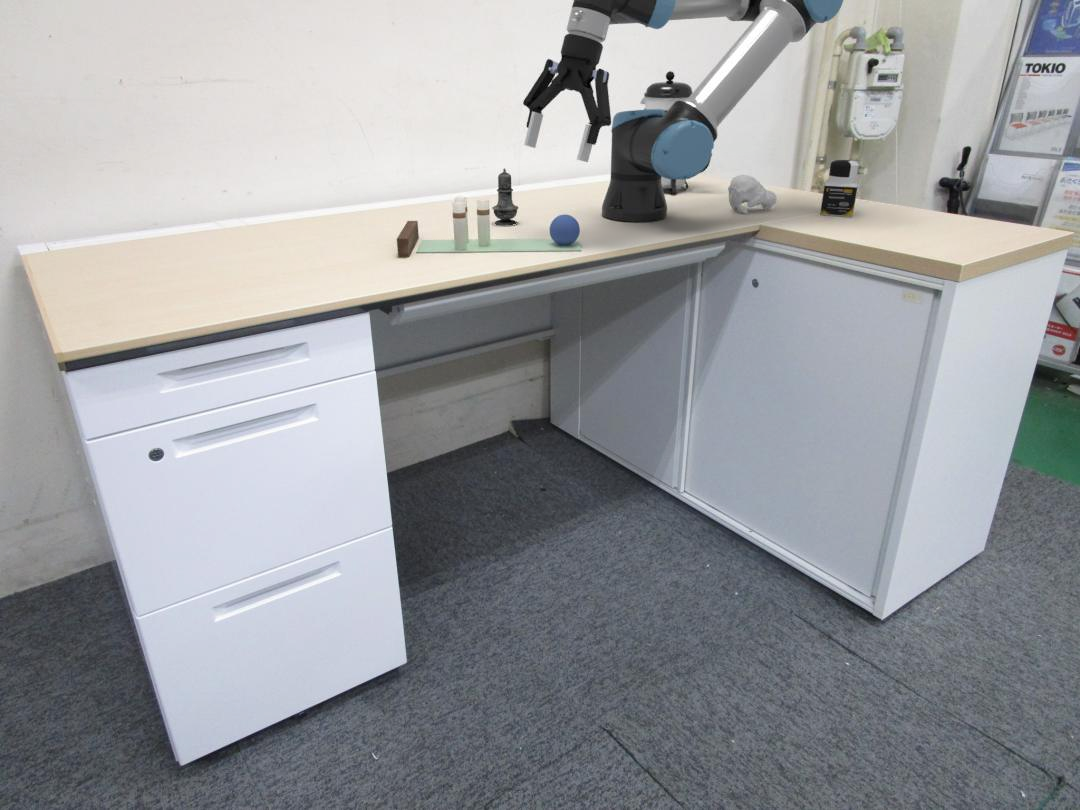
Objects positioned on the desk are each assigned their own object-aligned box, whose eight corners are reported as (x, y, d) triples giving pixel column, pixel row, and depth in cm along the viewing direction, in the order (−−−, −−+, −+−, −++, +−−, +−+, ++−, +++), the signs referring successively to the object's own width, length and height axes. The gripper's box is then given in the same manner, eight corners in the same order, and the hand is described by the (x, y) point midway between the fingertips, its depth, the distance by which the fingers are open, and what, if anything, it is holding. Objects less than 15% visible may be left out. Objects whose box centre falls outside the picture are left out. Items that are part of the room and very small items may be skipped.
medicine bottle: (819, 215, 174) (828, 162, 169) (821, 209, 180) (829, 158, 175) (852, 217, 172) (861, 163, 167) (853, 211, 178) (862, 159, 173)
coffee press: (647, 197, 196) (654, 72, 183) (628, 187, 211) (633, 70, 198) (708, 194, 200) (720, 71, 187) (686, 184, 214) (695, 70, 201)
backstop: (418, 237, 156) (417, 220, 154) (408, 257, 141) (407, 238, 140) (409, 237, 156) (407, 220, 154) (398, 257, 141) (396, 238, 140)
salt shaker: (515, 226, 165) (514, 170, 160) (489, 225, 166) (487, 169, 161) (521, 221, 170) (520, 166, 165) (496, 220, 171) (494, 166, 166)
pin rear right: (469, 241, 152) (467, 196, 149) (468, 244, 150) (466, 198, 146) (457, 241, 152) (454, 196, 148) (456, 244, 150) (453, 199, 146)
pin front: (490, 244, 150) (489, 198, 146) (490, 247, 148) (489, 201, 144) (478, 244, 150) (476, 198, 146) (477, 247, 148) (476, 201, 144)
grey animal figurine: (728, 172, 177) (773, 175, 180) (721, 208, 181) (765, 211, 184) (740, 176, 172) (786, 179, 175) (733, 214, 175) (778, 216, 178)
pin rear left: (467, 248, 148) (465, 201, 144) (466, 251, 145) (464, 204, 141) (455, 248, 147) (452, 201, 144) (454, 251, 145) (451, 204, 141)
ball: (578, 241, 152) (578, 211, 150) (580, 248, 147) (581, 217, 144) (548, 241, 152) (548, 211, 149) (550, 248, 147) (550, 218, 144)
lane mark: (577, 239, 154) (577, 238, 154) (581, 251, 145) (581, 250, 145) (421, 240, 153) (421, 240, 153) (416, 253, 144) (416, 252, 144)
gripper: (523, 24, 144) (497, 137, 150) (628, 40, 131) (594, 164, 137) (546, 35, 150) (520, 144, 156) (649, 52, 136) (616, 170, 143)
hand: (555, 153), depth 147 cm, fingers open, 13 cm apart
